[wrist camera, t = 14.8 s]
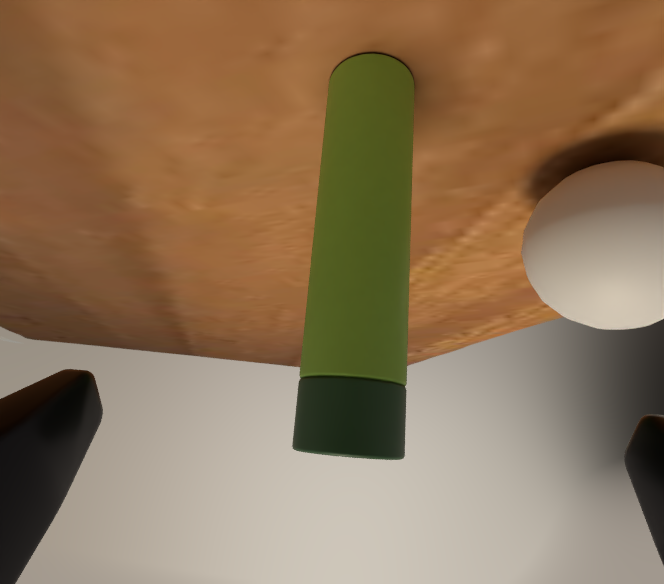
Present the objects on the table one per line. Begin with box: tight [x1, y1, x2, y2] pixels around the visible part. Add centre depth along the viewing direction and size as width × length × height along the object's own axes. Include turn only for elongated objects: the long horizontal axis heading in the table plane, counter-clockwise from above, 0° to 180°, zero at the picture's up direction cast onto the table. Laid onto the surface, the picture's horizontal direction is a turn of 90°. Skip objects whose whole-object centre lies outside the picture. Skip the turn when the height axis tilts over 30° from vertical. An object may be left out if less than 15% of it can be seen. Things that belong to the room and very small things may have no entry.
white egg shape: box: [521, 160, 664, 330], centre depth 20 cm, size 10×7×7 cm
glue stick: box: [293, 54, 414, 460], centre depth 14 cm, size 3×3×13 cm
